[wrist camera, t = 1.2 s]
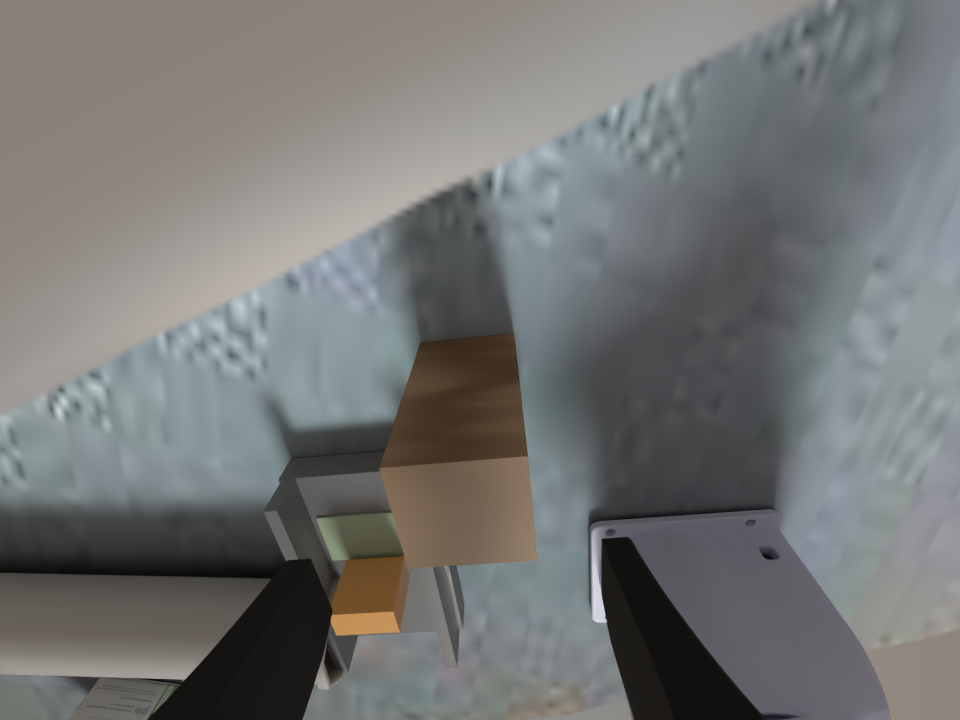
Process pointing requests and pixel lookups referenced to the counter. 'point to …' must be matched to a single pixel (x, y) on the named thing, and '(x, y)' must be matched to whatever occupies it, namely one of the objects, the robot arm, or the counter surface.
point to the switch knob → (370, 596)
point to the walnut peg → (461, 457)
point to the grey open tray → (358, 542)
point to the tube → (123, 624)
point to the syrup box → (123, 699)
